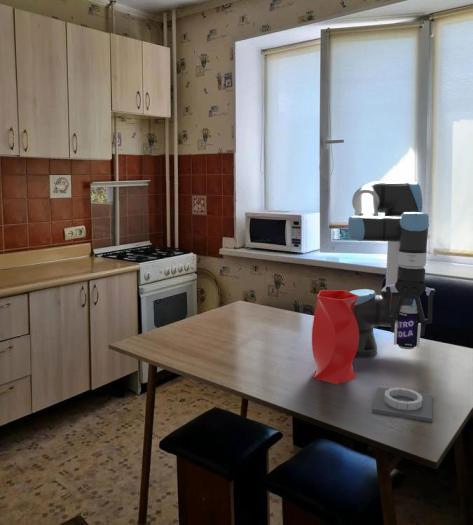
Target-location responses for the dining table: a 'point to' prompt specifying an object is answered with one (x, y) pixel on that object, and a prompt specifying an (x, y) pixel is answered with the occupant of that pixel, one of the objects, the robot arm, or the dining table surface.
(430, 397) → the ring seat
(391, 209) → the robot arm
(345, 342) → the vase
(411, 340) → the beverage can
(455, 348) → the dining table surface
